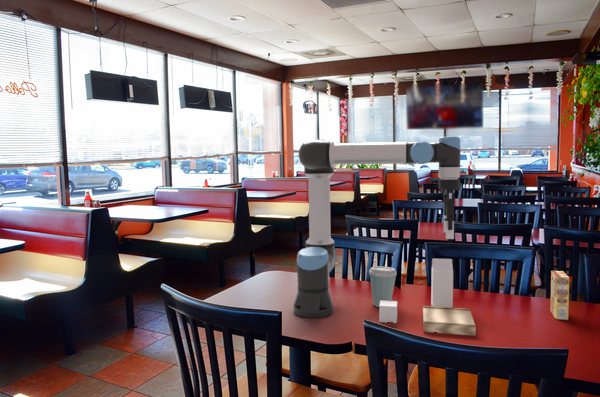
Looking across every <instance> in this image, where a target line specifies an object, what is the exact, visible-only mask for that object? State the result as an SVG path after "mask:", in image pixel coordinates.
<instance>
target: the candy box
mask: <svg viewBox="0 0 600 397" xmlns="http://www.w3.org/2000/svg"><path fill="white" fill-rule="evenodd" d="M550 272H551V273H550V275H551V276H550V279H551V280H550V312H551V314H552V316H553V317H554V319H556V320H563V321H568V320H569V305H570V302H569V301H570V299H569V298H570V277H569V276H568V275H567V273H565V271H563V270H560V271H559V270H551V271H550Z"/></svg>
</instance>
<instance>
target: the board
mask: <svg viewBox="0 0 600 397" xmlns="http://www.w3.org/2000/svg"><path fill="white" fill-rule="evenodd" d="M422 322H423V332H425V333H434V332H437V334H448V335H461V336H475V337H476V332H477V331H476V326H477V325H476V323H475V321H474V318H473V315H472V312H471V309H470V308H463V307H453V308H449V307H433V306H432V305H430V306H428V305H422Z"/></svg>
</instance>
